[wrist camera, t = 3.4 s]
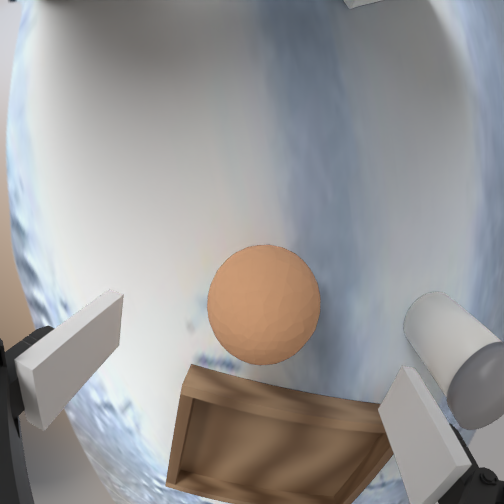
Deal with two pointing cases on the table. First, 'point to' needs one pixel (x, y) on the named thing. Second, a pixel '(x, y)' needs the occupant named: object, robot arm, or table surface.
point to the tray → (272, 443)
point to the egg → (263, 304)
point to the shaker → (459, 358)
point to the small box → (358, 2)
